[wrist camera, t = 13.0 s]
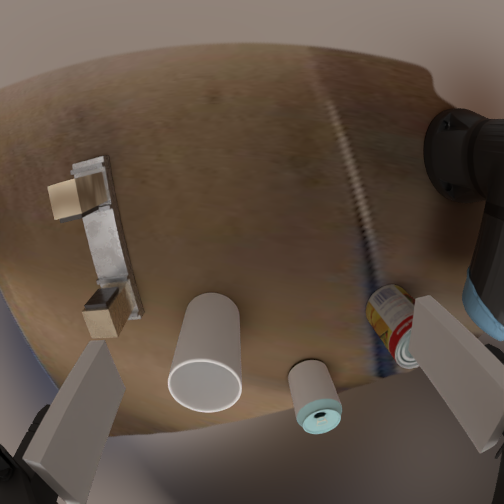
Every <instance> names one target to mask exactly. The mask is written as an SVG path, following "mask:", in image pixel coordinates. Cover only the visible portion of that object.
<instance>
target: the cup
mask: <svg viewBox="0 0 504 504" xmlns="http://www.w3.org/2000/svg"><path fill="white" fill-rule="evenodd" d="M168 388H169V391H170V393H171V395H172V396H173V397H174V399H175V400H176V401H177V402H179V403H180V404H181V405H183V406H185V407H187V408H189V409H192V410H195V411H199V412H217V411H222V410H224V409H227V408H229V407H231V406H232V405H233V404H235V403H236V401H237V400H238V399H239V397H240V395H241V390H242V376H241V346H240V315H239V310H238V308H237V306H236V305H235V303H234V302H233V301H232V300H231V299H229V298H228V297H226V296H224V295H222V294H218V293H204V294H201V295H199V296H197V297H195V298H194V299H193V300H192V301H191V302H190V303H189V305H188V306H187V309H186V313H185V316H184V320H183V323H182V327H181V331H180V335H179V338H178V342H177V346H176V350H175V353H174V357H173V361H172V365H171V369H170V373H169V377H168Z"/></svg>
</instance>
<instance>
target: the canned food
mask: <svg viewBox="0 0 504 504" xmlns="http://www.w3.org/2000/svg"><path fill="white" fill-rule="evenodd" d="M414 307H415V300H414V299H413V298H412V297H411V296H410V295H409V294H408V293H407V292H406V291H405V290H404V289H403V288H401V287H400V286H398V285H393V284H392V285H386V286H383V287H381V288H379V289H378V290H376V291H375V292H374V293H373V294H372V296H371V297H370V299H369V300H368V302H367V305H366V311H365V312H366V317H367V319H368V321H369V323H370V324H371V326H372V327H373V328H374V330H375V331H376V333H377V334H378V336H379V337H380V339H381V340H382V342H383V343H384V344H385V346H386V347H387V349H388V350H389V352H390V353H391V355H392V356H393V358H394V359H395V361H396V362H397V364H398V365H399V366H400V367H403V368H408V369H411V368H416V367H418V366H419V364H418V363H417V362H416V360H415V359H414V357H413V356H412V355H411V353H410V352H409V351H408V348H409V342H410V336H411V329H412V322H413V315H414Z"/></svg>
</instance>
